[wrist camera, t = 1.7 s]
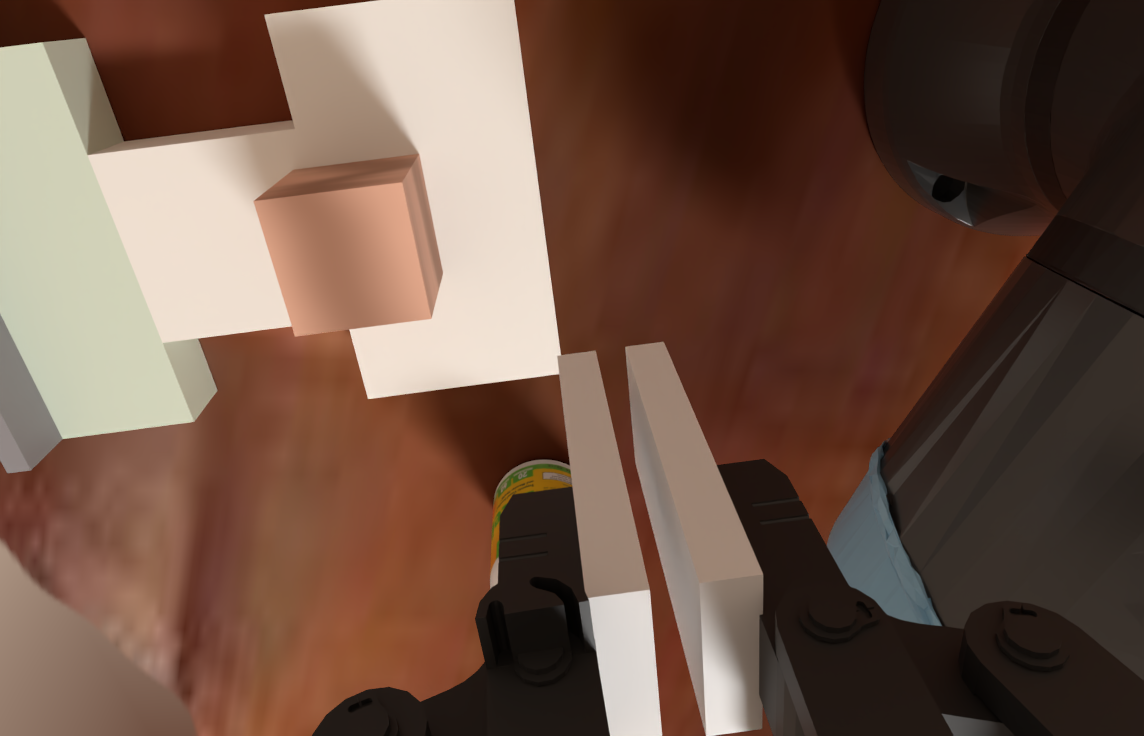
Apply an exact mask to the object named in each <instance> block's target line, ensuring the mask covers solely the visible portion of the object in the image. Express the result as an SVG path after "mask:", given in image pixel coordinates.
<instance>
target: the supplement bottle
mask: <svg viewBox="0 0 1144 736" xmlns="http://www.w3.org/2000/svg"><path fill="white" fill-rule="evenodd" d="M565 487H573V486H572V478H571V469H570V466H569V465H567V464H565V463H562V462H559V461H555V460H533V461H529V462H526V463H523V464H521V465H518V466H517V467H515V468H513V469H512V470H511V471H509V472H508V473H507V474H506V475H505V476H504V477H503V478H502V480H501V481H500V483H499V485H498V487H497V489H496V492H495V496H494V504H493V522H492V545H491V569H490V589H491V588H492V587H493V586H495V585H496V584H498V563H499V523H500V515H501V513H502V511H503V510H504V508H505V506H506V505H507V503H508V502H509V500H510V498H511V497H512V495H513V494H520V493H528V492H535V491H543V490H550V489H558V488H565Z"/></svg>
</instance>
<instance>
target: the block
mask: <svg viewBox="0 0 1144 736" xmlns="http://www.w3.org/2000/svg"><path fill="white" fill-rule="evenodd" d="M253 202H254V205H255V208H256V212H257V215H258V218H259V221H260V225H261V228H262V231H263V234H264V237H265V241H266V244H267V247H268V250H269V254H270V257H271V260H272V263H273V267H274V270H275V273H276V276H277V280H278V283H279V286H280V289H281V293H282V296H283V299H284V302H285V305H286V309H287V312H288V315H289V318H290V322H291V325H292V328H293V331H294V335H295V336H303V335H311V334H319V333H326V332H334V331H342V330H349V329H357V328H365V327H372V326H380V325H388V324H396V323H403V322H411V321H419V320H426V319H432V315H433V311H434V307H435V303H436V299H437V295H438V291H439V287H440V283H441V280H442V276H443V270H442V265H441V260H440V255H439V250H438V245H437V240H436V235H435V230H434V225H433V220H432V215H431V210H430V205H429V200H428V195H427V190H426V185H425V180H424V175H423V170H422V165H421V160H420V155H419V154H413V155H405V156H397V157H390V158H382V159H374V160H366V161H358V162H350V163H342V164H335V165H327V166H319V167H311V168H303V169H295V170H292V171H291V172H290V173H288V174H287V175H286V176H285V177H283V178H282V179H281V180H280V181H278V182H277V183H276V184H274V185H273V186H272V187H271V188H269V189H268V190H267V191H266V192H264V193H263V194H262V195H261V196H259V197H258V198H257V199H255V200H254V201H253Z"/></svg>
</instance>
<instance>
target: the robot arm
mask: <svg viewBox="0 0 1144 736" xmlns="http://www.w3.org/2000/svg"><path fill="white" fill-rule="evenodd" d="M864 101H865V110H866V116H867V122H868V127H869V130H870V134H871V137H872V140H873V143H874V146H875V148H876V151H877V153H878V155H879V157H880V159H881V161H882V163H883V164H884V166H885V168H886V169H887V171H888V172H889V174H890V175H891V177H892V178H893V179H894V180H895V182H896V183H897V184H898V185H899V186H900V187H901V188H902V189H903V190H904V191H905V192H906V193H907V194H908V195H909V196H911V197H912V198H913V199H914V200H916V201H917V202H918V203H920V204H921V205H923V206H925V207H926V208H928V209H930V210H932V211H934V212H936V213H938V214H940V215H942V216H944V217H946V218H947V219H949V220H951V221H953V222H955V223H958V224H960V225H963V226H965V227H968V228H971V229H974V230H978V231H983V232H987V233H992V234H999V235H1009V236H1032V235H1041V236H1040V238H1039V239H1038V241H1037V242H1036V243H1035V245H1034V246H1033V247H1032V249H1031V250H1030V252H1029V253H1028V254H1026V257H1024V258H1023V259H1022V260H1021V262H1020V263H1019V264H1018V266H1017V267H1016V269H1015V270H1014V271H1013V273H1012V274H1011V275H1010V277H1009V278H1008V279H1007V281H1006V282H1005V284H1004V285H1003V286H1002V288H1001V289H1000V290H999V292H998V293H997V294H996V296H995V297H994V298H993V300H992V301H991V303H990V304H989V305H988V307H987V308H986V309H985V311H984V312H983V313H982V315H981V316H980V318H979V319H978V320H977V322H976V323H975V324H974V326H973V327H972V328H971V330H970V331H969V333H968V334H967V335H966V337H965V338H964V339H963V341H962V342H961V343H960V345H959V346H958V347H957V349H956V350H955V352H954V353H953V354H952V356H951V357H950V358H949V360H948V361H947V362H946V364H945V365H944V367H943V368H942V369H941V371H940V372H939V373H938V375H937V376H936V377H935V379H934V380H933V381H932V383H931V384H930V386H929V387H928V388H927V390H926V391H925V392H924V394H923V395H922V396H921V398H920V399H919V401H918V402H917V403H916V405H915V406H914V407H913V409H912V410H911V411H910V413H909V414H908V416H907V417H906V418H905V420H904V421H903V422H902V424H901V425H900V426H899V428H898V429H897V430H896V432H895V433H894V435H893V436H892V437H891V438H888V439H887V440H885V441H884V442H883V443H882V445H881V446H880V447H878V448H877V449H876V451H875V452H874V453H873V454H872V457H871V460H870V463H869V471H868V472H867V474H866V475H865V477H864V478H863V480H862V482H861V483H860V485H859V486H858V488H857V489H856V491H855V492H854V494H853V495H852V497H851V498H850V500H849V502H848V503H847V505H846V506H845V508H844V509H843V511H842V512H841V514H840V515H839V517H838V518H837V520H836V522H835V523H834V526H833V528H832V530H831V532H830V535H829V539H828V543H827V546H826V544H825V542H824V540H823V539H822V537H821V535H820V533H819V532H818V530H817V528H816V526H815V524H814V523H813V521H812V519H809V514H808V512H807V510H806V509H805V507H804V505H803V503H802V502H801V501H799V496H798V494H797V493H796V491H795V489H794V487H793V486H792V484H791V482H790V480H789V479H788V477H787V475H785V474H784V473H783V472H781V471H780V470H778V469H777V468H776V467H774V466H773V465H772V464H770V463H769V462H767V461H766V460H765V459H760V460H753V461H745V462H738V463H730V464H723V465H716V463H715V461H714V458H713V456H712V454H711V451H710V449H709V447H708V444H707V442H706V440H705V437H704V435H703V433H702V430H701V428H700V426H699V423H698V421H697V419H696V416H695V414H694V412H693V409H692V407H691V405H690V402H689V400H688V398H687V395H686V393H685V391H684V388H683V386H682V384H681V381H680V379H679V377H678V374H677V372H676V370H675V367H674V365H673V363H672V360H671V358H670V356H669V353H668V351H667V349H666V346H665V344H664V342H659V343H651V344H644V345H636V346H628V347H625V349H626V360H627V372H628V383H629V395H630V406H631V417H632V429H633V440H634V452H635V462H636V466H637V470H638V474H639V478H640V482H641V486H642V490H643V493H644V497H645V501H646V505H647V509H648V513H649V517H650V521H651V524H652V528H653V532H654V536H655V540H656V544H657V548H658V552H659V555H660V559H661V563H662V567H663V571H664V575H665V579H666V583H667V586H668V590H669V594H670V598H671V602H672V606H673V610H674V613H675V617H676V621H677V625H678V629H679V633H680V637H681V641H682V644H683V648H684V652H685V656H686V660H687V664H688V668H689V672H690V675H691V679H692V683H693V687H694V691H695V695H696V699H697V703H698V706H699V710H700V714H701V718H702V722H703V726H704V730H705V734H706V736H713V735H721V734H728V733H735V732H742V731H750V730H757V729H762V704H763V707H764V710H765V713H766V716H767V719H768V722H769V724H770V727H771V730H772V733H773V736H1144V0H881V3H880V5H879V8H878V11H877V13H876V16H875V20H874V23H873V26H872V30H871V34H870V38H869V43H868V48H867V54H866V61H865V71H864ZM557 359H558V367H559V376H560V384H561V393H562V401H563V410H564V418H565V427H566V435H567V444H568V452H569V461H570V469H571V478H572V486H573V487H565V488H558V489H550V490H543V491H535V492H528V493H520V494H513V495H512V497H511V498H510V500H509V502H508V503H507V505H506V506H505V508H504V510H503V511H502V513H501V515H500V523H499V563H498V584H496V585H495V586H493V587H492V588H491V589H490V590H489V591H488V593H487V594H486V595H485V596H484V598H483V599H482V600H481V601H480V603H479V607H478V610H477V614H476V618H475V620H476V625H477V629H478V633H479V638H480V642H481V646H482V650H483V655H484V659H485V662H484V664H483V665H482V666H481V667H480V669H479V670H478V671H477V672H476V673H474V674H473V675H472V676H471V677H469V678H468V679H467V680H466V681H464V682H462V683H461V684H459V685H457V686H455V687H453V688H451V689H449V690H447V691H445V692H443V693H440V694H438V695H436V696H433V697H431V698H429V699H426V700H424V701H422V702H420V701H418V700H417V699H416V698H415V697H414V696H412V695H411V694H410V693H409V692H408V691H403V690H399V689H395V688H391V687H385V688H377V689H369V690H366V691H363V692H361V693H359V694H357V695H354V696H352V697H350V698H347V699H345V700H344V701H343V702H342V703H340V704H339V705H338V706H337V707H335V708H334V709H333V710H332V711H330V712H329V713H328V714H327V715H326V716H325V718H324V719H323V720H322V722H321V723H320V725H319V726H318V727H317V729H316V730H315V732H314V733H313V735H312V736H662V730H661V718H660V706H659V694H658V682H657V670H656V659H655V647H654V635H653V623H652V611H651V600H650V589H649V585H648V580H647V576H646V571H645V567H644V563H643V558H642V554H641V549H640V545H639V540H638V536H637V532H636V527H635V523H634V518H633V514H632V510H631V505H630V501H629V496H628V492H627V488H626V483H625V479H624V474H623V470H622V466H621V461H620V457H619V452H618V448H617V443H616V439H615V435H614V430H613V426H612V421H611V417H610V413H609V408H608V404H607V399H606V395H605V391H604V386H603V382H602V377H601V373H600V369H599V364H598V360H597V355H596V351H590V352H583V353H575V354H567V355H560V356H557Z"/></svg>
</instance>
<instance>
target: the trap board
mask: <svg viewBox="0 0 1144 736" xmlns="http://www.w3.org/2000/svg"><path fill="white" fill-rule="evenodd" d="M264 16H265V20H266V24H267V27H268V31H269V35H270V38H271V42H272V46H273V49H274V53H275V57H276V60H277V64H278V68H279V71H280V75H281V79H282V83H283V86H284V90H285V94H286V97H287V101H288V105H289V108H290V112H291V116H292V119H293V120H290V121H282V122H274V123H266V124H258V125H250V126H243V127H235V128H227V129H219V130H211V131H203V132H195V133H187V134H179V135H171V136H163V137H156V138H148V139H140V140H132V141H124V140H123V137H122V135H121V132H120V129H119V127H118V124H117V121H116V119H115V116H114V113H113V111H112V108H111V105H110V103H109V100H108V97H107V95H106V92H105V89H104V87H103V84H102V81H101V79H100V76H99V73H98V71H97V68H96V65H95V63H94V60H93V57H92V55H91V52H90V49H89V47H88V44H87V41H86V39H85V38H80V39H71V40H61V41H51V42H41V43H33V44H25V45H17V46H9V47H1V48H0V461H1V463H2V464H3V466H4V468H5V470H6V472H7V473H14V472H21V471H29V470H32V469H33V468H34V467H35V466H36V465H37V464H38V463H39V462H40V461H41V460H42V459H43V458H44V457H45V456H46V455H47V454H48V453H49V452H50V451H51V450H52V449H53V448H54V447H55V446H56V445H57V444H58V443H59V442H60V441H61V440H62V439H66V438H74V437H81V436H89V435H97V434H104V433H112V432H120V431H127V430H135V429H143V428H150V427H158V426H165V425H173V424H181V423H188V422H194V421H195V420H196V418H197V417H198V416H199V414H200V413H201V412H202V410H203V409H204V408H205V406H206V405H207V404H208V402H209V401H210V400H211V398H212V397H213V396H214V394H215V393H216V392H217V388H216V386H215V383H214V380H213V378H212V375H211V372H210V370H209V367H208V364H207V361H206V359H205V356H204V353H203V351H202V348H201V345H200V343H199V340H198V338H204V337H212V336H220V335H228V334H235V333H243V332H251V331H258V330H266V329H274V328H282V327H289V326H292V325H291V322H290V318H289V315H288V312H287V309H286V305H285V302H284V299H283V296H282V293H281V289H280V286H279V283H278V280H277V276H276V273H275V270H274V267H273V263H272V260H271V257H270V254H269V250H268V247H267V244H266V241H265V237H264V234H263V231H262V228H261V225H260V221H259V218H258V215H257V212H256V208H255V205H254V202H253V201H254V200H255V199H257V198H258V197H259V196H261V195H262V194H263V193H264V192H266V191H267V190H268V189H269V188H271V187H272V186H273V185H274V184H276V183H277V182H278V181H280V180H281V179H282V178H283V177H285V176H286V175H287V174H288V173H290V172H291V171H292V170H295V169H303V168H311V167H319V166H327V165H335V164H342V163H350V162H358V161H366V160H374V159H382V158H390V157H397V156H405V155H413V154H419V155H420V160H421V165H422V170H423V175H424V180H425V185H426V190H427V195H428V200H429V205H430V210H431V215H432V220H433V225H434V230H435V235H436V240H437V245H438V250H439V255H440V260H441V265H442V270H443V276H442V280H441V283H440V287H439V291H438V295H437V299H436V303H435V307H434V311H433V315H432V319H426V320H419V321H411V322H403V323H396V324H388V325H380V326H372V327H365V328H357V329H349V330H350V334H351V337H352V341H353V345H354V348H355V352H356V356H357V359H358V363H359V367H360V370H361V374H362V378H363V382H364V385H365V389H366V393H367V396H368V399H372V398H379V397H387V396H395V395H402V394H410V393H418V392H425V391H433V390H440V389H448V388H456V387H463V386H471V385H479V384H486V383H494V382H502V381H509V380H517V379H524V378H532V377H540V376H547V375H555V374H559V367H558V359H557V356H560V355H561V353H560V345H559V337H558V330H557V322H556V315H555V307H554V299H553V292H552V284H551V277H550V269H549V261H548V254H547V246H546V239H545V231H544V223H543V216H542V208H541V201H540V193H539V185H538V178H537V170H536V163H535V155H534V147H533V140H532V132H531V125H530V117H529V109H528V102H527V94H526V87H525V79H524V71H523V64H522V56H521V49H520V41H519V33H518V26H517V18H516V11H515V3H514V0H377V1H369V2H361V3H353V4H345V5H337V6H329V7H321V8H313V9H305V10H297V11H289V12H281V13H273V14H265V15H264Z"/></svg>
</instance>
